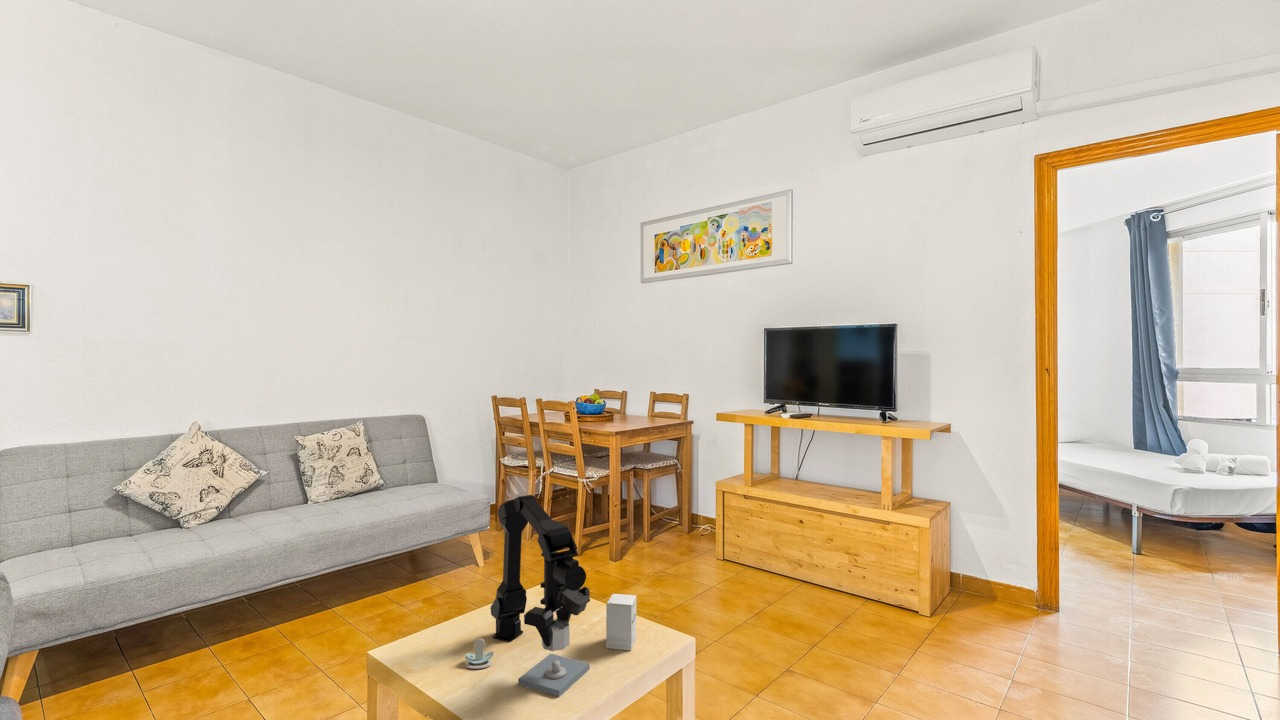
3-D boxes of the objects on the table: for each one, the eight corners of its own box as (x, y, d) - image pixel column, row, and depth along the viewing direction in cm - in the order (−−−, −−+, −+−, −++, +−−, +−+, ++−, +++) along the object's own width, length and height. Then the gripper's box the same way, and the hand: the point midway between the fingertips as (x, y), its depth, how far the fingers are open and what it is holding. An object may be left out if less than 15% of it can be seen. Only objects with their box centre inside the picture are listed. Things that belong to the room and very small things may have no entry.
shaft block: (518, 684, 146) (518, 667, 146) (550, 659, 158) (550, 643, 158) (559, 696, 140) (559, 678, 140) (589, 669, 153) (589, 652, 153)
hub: (537, 647, 146) (537, 627, 146) (552, 636, 152) (552, 617, 152) (559, 652, 144) (559, 632, 144) (573, 641, 149) (573, 621, 149)
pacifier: (492, 670, 153) (494, 657, 159) (492, 646, 153) (494, 634, 159) (462, 672, 152) (466, 659, 158) (462, 648, 152) (466, 636, 158)
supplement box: (631, 651, 163) (631, 605, 163) (605, 648, 164) (605, 602, 164) (637, 638, 170) (637, 594, 170) (612, 636, 171) (612, 592, 171)
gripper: (562, 596, 136) (562, 664, 136) (602, 571, 153) (602, 631, 153) (522, 588, 141) (522, 654, 141) (565, 564, 158) (565, 623, 158)
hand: (555, 640), depth 148 cm, fingers closed on hub, 6 cm apart
